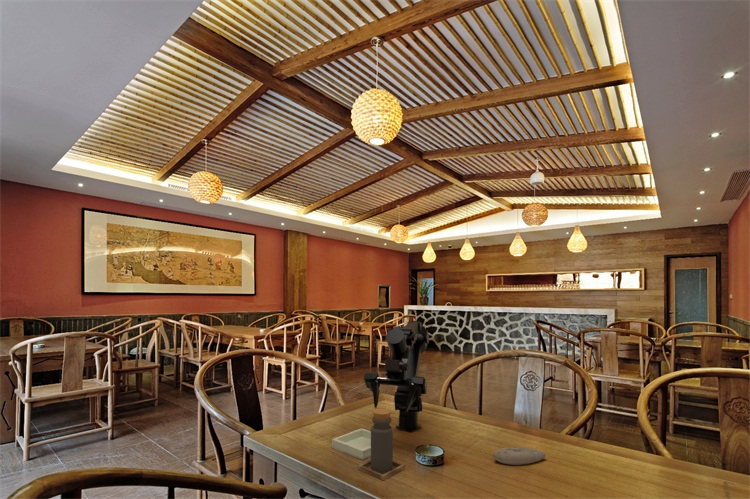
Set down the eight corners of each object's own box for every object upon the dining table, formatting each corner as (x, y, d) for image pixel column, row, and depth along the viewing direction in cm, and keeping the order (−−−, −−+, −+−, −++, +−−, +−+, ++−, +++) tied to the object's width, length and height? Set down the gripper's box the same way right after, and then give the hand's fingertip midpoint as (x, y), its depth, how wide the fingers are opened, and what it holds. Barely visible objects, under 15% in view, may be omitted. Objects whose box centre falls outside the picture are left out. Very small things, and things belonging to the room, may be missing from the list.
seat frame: (380, 459, 115) (380, 455, 115) (405, 468, 109) (405, 464, 109) (357, 469, 108) (357, 465, 108) (383, 480, 102) (383, 476, 102)
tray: (361, 436, 132) (361, 428, 132) (392, 446, 123) (392, 438, 123) (331, 447, 122) (331, 439, 123) (362, 460, 114) (362, 451, 114)
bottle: (390, 475, 105) (390, 415, 106) (368, 473, 106) (368, 413, 107) (394, 465, 111) (394, 408, 112) (373, 463, 112) (373, 407, 113)
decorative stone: (550, 464, 112) (550, 451, 113) (499, 468, 109) (499, 455, 110) (537, 455, 118) (537, 443, 119) (488, 459, 115) (488, 446, 116)
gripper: (366, 345, 126) (354, 392, 115) (426, 350, 121) (419, 399, 110) (372, 365, 133) (361, 410, 122) (429, 370, 128) (423, 418, 117)
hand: (390, 409), depth 118 cm, fingers open, 9 cm apart
